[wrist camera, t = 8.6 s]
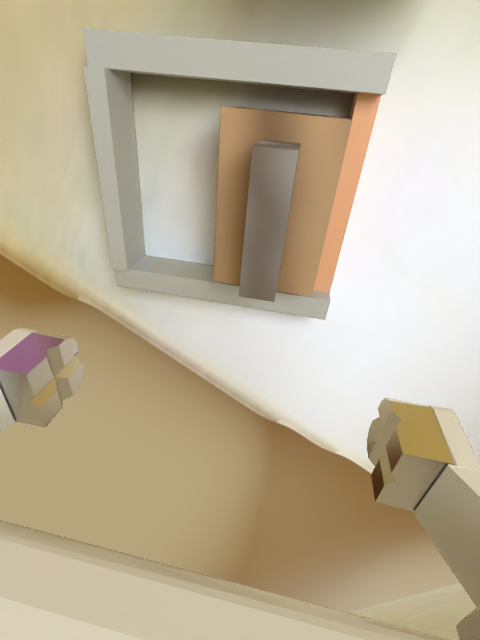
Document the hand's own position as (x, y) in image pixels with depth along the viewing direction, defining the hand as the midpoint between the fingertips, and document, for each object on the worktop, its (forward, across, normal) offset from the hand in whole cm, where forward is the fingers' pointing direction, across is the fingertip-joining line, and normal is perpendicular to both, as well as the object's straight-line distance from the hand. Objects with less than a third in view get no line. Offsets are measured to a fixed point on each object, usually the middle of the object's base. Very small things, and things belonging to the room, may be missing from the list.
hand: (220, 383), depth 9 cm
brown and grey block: (+24, +1, 0) cm, 24 cm away
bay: (+24, +5, 0) cm, 24 cm away
